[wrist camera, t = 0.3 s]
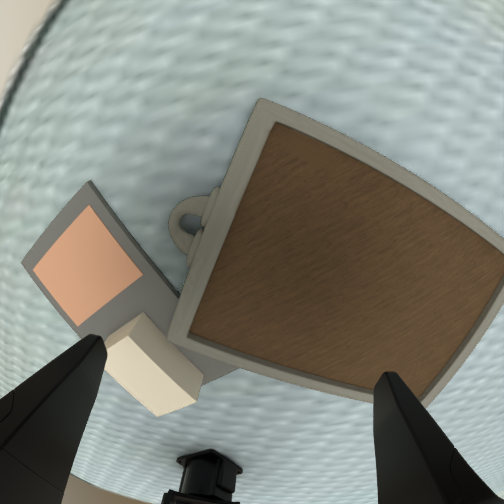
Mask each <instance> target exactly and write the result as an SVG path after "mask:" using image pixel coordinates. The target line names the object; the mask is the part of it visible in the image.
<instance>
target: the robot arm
mask: <svg viewBox="0 0 504 504" xmlns="http://www.w3.org/2000/svg"><path fill="white" fill-rule="evenodd" d="M107 356H108V353H107V349H106V346H105V344H104V341H103V338H102V337H101V336H100V335H96V334H88V335H87V336H85V337H84V338H83V339H81V340H80V341H78V342H77V343H76V344H74V345H73V346H71V347H70V348H69V349H67V350H66V351H65V352H63V353H62V354H60V355H59V356H58V357H56V358H55V359H54V360H52V361H51V362H50V363H48V364H47V365H45V366H44V367H43V368H41V369H40V370H39V371H37V372H36V373H35V374H33V375H32V376H31V377H29V378H28V379H27V380H25V381H24V382H23V383H21V384H20V385H19V386H17V387H16V388H15V389H14V390H12V391H10V392H9V393H8V394H7V395H5V396H4V397H2V398H1V399H0V504H61V502H62V499H63V495H64V491H65V488H66V484H67V481H68V477H69V474H70V471H71V468H72V465H73V462H74V459H75V456H76V453H77V450H78V447H79V444H80V441H81V438H82V435H83V432H84V429H85V427H86V424H87V421H88V418H89V416H90V413H91V410H92V408H93V405H94V402H95V400H96V397H97V393H98V390H99V386H100V382H101V379H102V375H103V371H104V368H105V364H106V361H107ZM373 434H374V446H375V457H376V471H377V487H378V504H504V500H503V499H502V498H500V497H498V496H497V495H496V494H495V493H494V492H493V491H492V490H491V489H490V488H489V487H488V486H487V485H486V483H485V482H484V481H483V480H482V479H481V478H480V477H479V476H478V475H477V474H476V473H475V471H474V470H473V469H472V468H471V467H470V466H469V465H468V463H467V462H466V461H465V459H464V458H463V457H462V456H461V454H460V453H459V452H458V450H457V449H456V448H454V445H453V444H452V443H451V441H450V440H449V439H448V437H447V436H446V435H445V433H444V432H443V431H442V429H441V428H440V427H439V425H438V424H437V423H436V422H435V420H434V419H433V418H432V416H431V415H430V414H429V413H428V411H427V410H426V409H425V407H424V406H423V405H422V404H421V402H420V401H419V400H418V399H417V397H416V396H415V395H414V393H413V392H412V391H411V390H410V388H409V387H408V386H407V385H406V383H405V382H404V381H403V380H402V378H401V377H400V376H399V375H398V373H396V372H394V371H386V372H384V373H383V374H382V375H381V377H380V378H379V380H378V381H377V383H376V384H375V386H374V390H373ZM176 462H177V463H179V464H180V465H182V466H183V467H184V471H183V475H182V479H181V483H180V488H179V492H177V491H174V490H171V489H169V491H168V493H164V495H163V499H162V502H161V504H240V502H231V501H232V493H234V492H235V484H236V475H238V474H242V473H243V470H242V469H241V468H239V467H238V466H236V465H235V464H233V463H232V462H230V461H229V460H227V459H226V458H224V457H223V456H221V455H220V454H218V453H217V452H215V451H214V450H207V451H203V452H200V453H196V454H192V455H188V456H184V457H180V458H177V460H176Z"/></svg>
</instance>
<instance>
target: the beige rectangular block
mask: <svg viewBox="0 0 504 504" xmlns="http://www.w3.org/2000/svg"><path fill="white" fill-rule="evenodd" d="M104 344H105V346H106V349H107V353H108V356H107V361H106V364H105V368H104V369H105V370H106V371H107V372H108V373H109V374H110V375H111V376H112V377H113V378H114V379H115V380H116V381H117V382H118V383H119V384H120V385H121V386H123V387H124V388H125V389H126V390H127V391H128V392H129V393H130V394H131V395H132V396H134V397H135V398H136V399H137V400H138V401H139V402H140V403H142V404H143V405H144V406H145V407H146V408H147V409H149V410H150V411H151V412H152V413H153V414H155V415H156V416H157V417H159V416H162V415H164V414H167V413H170V412H172V411H175V410H178V409H180V408H183V407H185V406H188V405H190V404H193V403H195V402H197V399H198V395H199V391H200V388H201V384H202V380H203V376H204V375H203V374H202V373H201V372H200V371H199V370H198V369H197V368H196V367H195V366H194V365H193V364H192V363H191V362H190V361H189V360H188V359H187V358H186V357H185V356H184V355H183V354H182V353H181V352H180V351H179V350H178V349H177V348H176V347H175V346H174V345H173V344H172V343H171V342H169V341H167V339H166V336H165V335H164V334H163V333H162V332H161V331H160V330H159V329H158V328H157V326H156V325H155V324H154V323H153V322H152V321H151V320H150V319H149V318H148V317H147V315H146V314H145V313H144V312H143V313H141V314H140V315H138V316H137V317H135V318H134V319H132V320H131V321H130V322H128V323H127V324H125V325H124V326H122V327H121V328H119V329H118V330H116V331H115V332H113V333H112V334H111V335H109V337H108V338H107V339H106V341H105V342H104Z"/></svg>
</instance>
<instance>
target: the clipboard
mask: <svg viewBox="0 0 504 504" xmlns="http://www.w3.org/2000/svg"><path fill="white" fill-rule="evenodd" d="M185 214H192V215H196V216H199V217H202V218H201V226H202V227H203V228H205V229H199V230H198V231H197V233H196V235H195V236H194V235H192V234H189V233H187V232H185V231H184V230H182V228H181V227H180V220H181V218H182V217H183V216H184V215H185ZM168 224H169V232H170V236H171V238H172V240H173V242H174V243H175V244H176V245H177V247H178V248H179V249H180V250H181V251H182V252H184V253H185V254H186V255H188V256H187V260H186V264H187V266H188V267H190V269H189V272H188V275H187V278H186V281H185V283H184V286H183V289H182V292H181V295H180V298H179V301H178V304H177V306H176V309H175V312H174V315H173V318H172V321H171V324H170V327H169V330H168V333H167V337H166V339H167V341H169V342H171V343H174V344H176V345H179V346H181V347H184V348H187V349H189V350H192V351H194V352H197V353H200V354H202V355H205V356H208V357H211V358H213V359H216V360H219V361H222V362H225V363H227V364H230V365H233V366H236V367H239V368H242V369H245V370H248V371H251V372H255V373H258V374H261V375H264V376H267V377H271V378H274V379H277V380H281V381H284V382H288V383H291V384H295V385H298V386H302V387H306V388H309V389H313V390H317V391H321V392H325V393H329V394H333V395H337V396H341V397H346V398H350V399H355V400H359V401H364V402H369V403H373V390H374V386H375V384H376V383H377V381H378V380H379V378H380V377H381V375H382V374H383V373H384V372H386V371H394V372H396V373H398V375H399V376H400V377H401V378H402V380H403V381H404V382H405V383H406V385H407V386H408V387H409V388H410V390H411V391H412V392H413V393H414V395H415V396H416V397H417V399H418V400H419V401H420V402H421V404H422V405H423V406H424V407H425V409H426V408H427V407H428V405H429V404H430V403H431V402H432V401H433V400H434V399H435V398H436V396H437V395H438V394H439V393H440V392H441V391H442V389H443V388H444V387H445V386H446V385H447V383H448V382H449V381H450V380H451V379H452V377H453V376H454V375H455V374H456V372H457V371H458V370H459V368H460V367H461V366H462V365H463V363H464V362H465V361H466V359H467V358H468V357H469V355H470V354H471V352H472V351H473V350H474V348H475V347H476V345H477V344H478V343H479V341H480V340H481V338H482V337H483V335H484V334H485V332H486V331H487V329H488V328H489V326H490V325H491V323H492V321H493V320H494V318H495V317H496V315H497V313H498V312H499V310H500V308H501V307H502V305H503V303H504V239H503V238H502V237H501V236H500V235H498V234H497V233H496V232H495V231H493V230H492V229H491V228H490V227H488V226H487V225H486V224H485V223H483V222H482V221H481V220H479V219H478V218H477V217H476V216H474V215H473V214H472V213H470V212H469V211H467V210H466V209H465V208H463V207H462V206H461V205H459V204H458V203H456V202H455V201H454V200H452V199H451V198H449V197H448V196H446V195H445V194H444V193H442V192H441V191H439V190H438V189H436V188H435V187H433V186H432V185H430V184H429V183H427V182H426V181H424V180H422V179H421V178H419V177H418V176H416V175H415V174H413V173H411V172H410V171H408V170H406V169H405V168H403V167H402V166H400V165H398V164H397V163H395V162H393V161H391V160H390V159H388V158H386V157H385V156H383V155H381V154H379V153H378V152H376V151H374V150H372V149H370V148H369V147H367V146H365V145H363V144H361V143H359V142H357V141H355V140H354V139H352V138H350V137H348V136H346V135H344V134H342V133H340V132H338V131H336V130H334V129H332V128H330V127H328V126H326V125H324V124H322V123H319V122H317V121H315V120H313V119H311V118H309V117H307V116H304V115H302V114H300V113H298V112H295V111H293V110H291V109H288V108H286V107H284V106H281V105H279V104H277V103H274V102H272V101H269V100H266V99H263V98H259V99H258V101H257V103H256V105H255V107H254V109H253V112H252V114H251V116H250V118H249V121H248V123H247V125H246V128H245V130H244V132H243V135H242V137H241V139H240V142H239V144H238V146H237V149H236V151H235V153H234V156H233V158H232V161H231V163H230V166H229V168H228V170H227V173H226V175H225V178H224V180H223V183H222V185H221V188H220V187H215V188H214V189H213V191H212V193H211V195H210V196H195V197H191V198H188V199H185V200H183V201H182V202H180V203H179V204H177V205H176V207H175V208H174V209H173V210H172V212H171V214H170V217H169V222H168Z"/></svg>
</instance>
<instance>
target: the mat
mask: <svg viewBox="0 0 504 504" xmlns="http://www.w3.org/2000/svg"><path fill="white" fill-rule="evenodd" d="M21 264H22V265H23V266H24V268H25V269H26V271H27V272H28V274H29V275H30V276H31V278H32V279H33V280H34V282H35V283H36V284H37V286H38V287H39V288H40V290H41V291H42V292H43V294H44V295H45V296H46V298H47V299H48V300H49V301H50V303H51V304H52V305H53V306H54V308H55V309H56V310H57V311H58V312H59V314H60V315H61V316H62V317H63V318H64V320H65V321H66V322H67V323H68V324H69V325H70V327H71V328H72V329H73V330H74V331H75V332H76V333H77V335H78V336H79V337H80V338H81V339H83V338H84V337H85V336H87V335H88V334H96V335H100V336H101V337H102V338H103V341H104V342H105V341H106V339H107V338H108V337H109V335H111V334H112V333H113V332H115V331H116V330H118V329H119V328H121V327H122V326H124V325H125V324H127V323H128V322H130V321H131V320H132V319H134V318H135V317H137V316H138V315H140V314H141V313H143V312H144V313H145V314H146V315H147V317H148V318H149V319H150V320H151V321H152V322H153V323H154V324H155V325H156V326H157V328H158V329H159V330H160V331H161V332H162V333H163V334H164V335H165V336H166V337H167V333H168V330H169V327H170V324H171V321H172V318H173V315H174V312H175V309H176V306H177V304H178V301H179V298H180V295H179V293H178V292H177V291H176V290H175V289H174V287H173V286H172V285H171V284H170V283H169V282H168V280H167V279H166V278H165V277H164V276H163V274H162V273H161V272H160V271H159V269H158V268H157V267H156V266H155V265H154V263H153V262H152V261H151V260H150V258H149V257H148V256H147V255H146V253H145V252H144V251H143V250H142V248H141V247H140V246H139V245H138V243H137V242H136V241H135V240H134V238H133V237H132V236H131V234H130V233H129V232H128V231H127V229H126V228H125V227H124V225H123V224H122V223H121V221H120V220H119V219H118V217H117V216H116V215H115V213H114V212H113V211H112V209H111V208H110V207H109V205H108V204H107V203H106V201H105V200H104V198H103V197H102V196H101V194H100V193H99V192H98V190H97V189H96V187H95V186H94V185H93V183H92V182H91V181H88V182H86V183H85V184H84V185H83V186H82V188H81V189H80V190H79V191H78V192H77V193H76V194H75V195H74V196H73V198H72V199H71V200H70V201H69V202H68V203H67V204H66V206H65V207H64V208H63V209H62V210H61V211H60V213H59V214H58V215H57V216H56V217H55V219H54V220H53V221H52V222H51V223H50V225H49V226H48V227H47V228H46V230H45V231H44V232H43V234H42V235H41V236H40V237H39V239H38V240H37V241H36V243H35V244H34V245H33V247H32V248H31V249H30V251H29V252H28V253H27V255H26V256H25V257H24V259H23V260H22V262H21ZM172 344H173V345H174V346H175V347H176V348H177V349H178V350H179V351H180V352H181V353H182V354H183V355H184V356H185V357H186V358H187V359H188V360H189V361H190V362H191V363H192V364H193V365H194V366H195V367H196V368H197V369H198V370H199V371H200V372H201V373H202V374H203V375H204V376H203V380H202V384H201V386H202V385H204V384H206V383H209V382H211V381H213V380H215V379H217V378H219V377H222V376H224V375H226V374H228V373H230V372H232V371H234V370H236V369H238V368H239V367H236V366H233V365H230V364H227V363H225V362H222V361H219V360H216V359H213V358H211V357H208V356H205V355H202V354H200V353H197V352H194V351H192V350H189V349H187V348H184V347H181V346H179V345H176V344H174V343H172Z"/></svg>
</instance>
